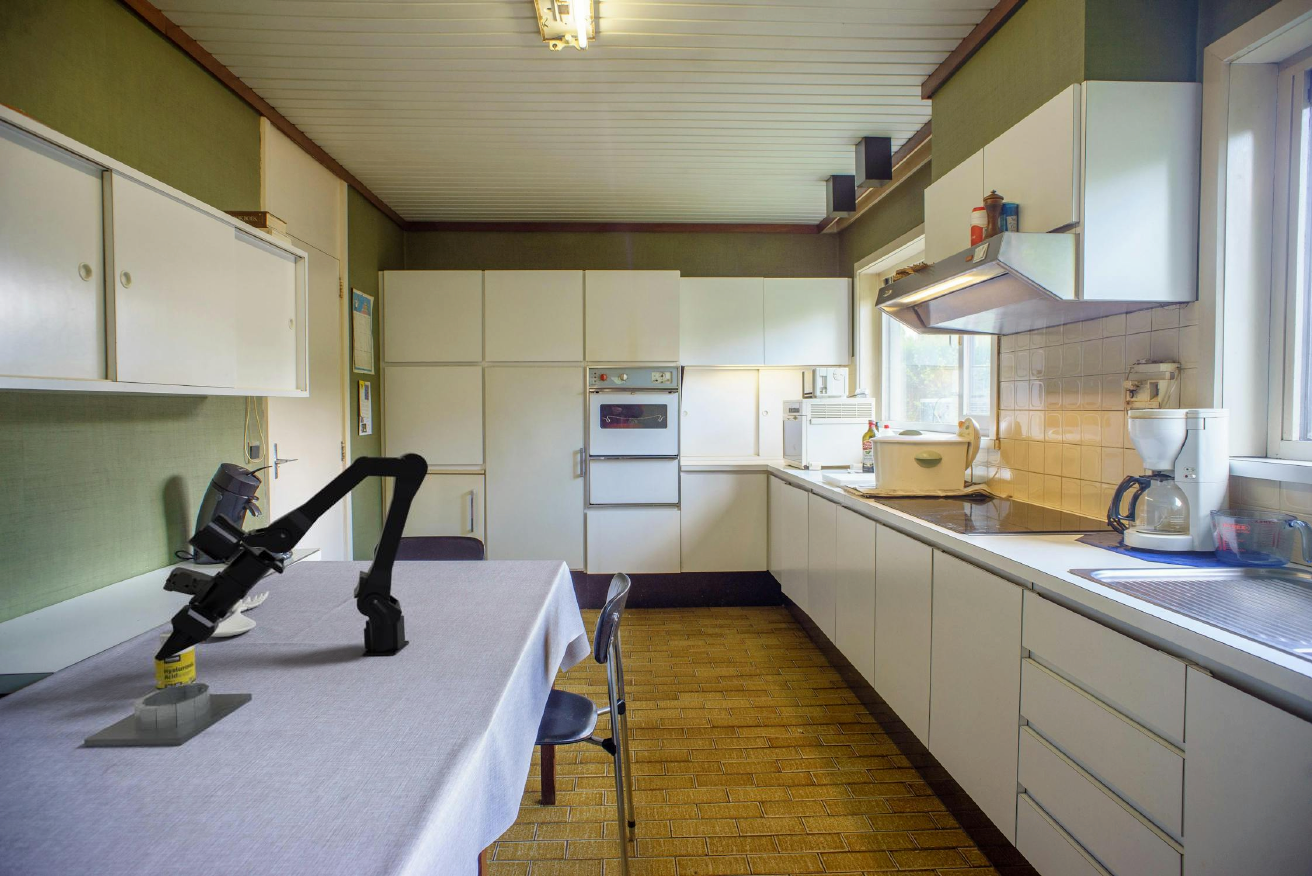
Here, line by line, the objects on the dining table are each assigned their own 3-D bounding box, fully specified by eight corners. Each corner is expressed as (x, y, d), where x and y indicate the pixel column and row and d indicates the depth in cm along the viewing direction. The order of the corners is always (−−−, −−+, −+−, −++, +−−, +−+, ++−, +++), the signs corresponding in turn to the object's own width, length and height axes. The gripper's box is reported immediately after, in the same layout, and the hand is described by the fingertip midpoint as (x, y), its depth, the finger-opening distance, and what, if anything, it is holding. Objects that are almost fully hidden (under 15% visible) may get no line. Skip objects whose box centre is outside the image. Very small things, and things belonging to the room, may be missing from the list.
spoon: (270, 602, 157) (269, 588, 157) (252, 639, 129) (251, 623, 129) (228, 607, 153) (227, 594, 153) (200, 647, 125) (199, 630, 125)
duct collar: (251, 699, 98) (250, 675, 98) (180, 745, 84) (179, 717, 84) (168, 700, 99) (167, 676, 99) (84, 746, 85) (83, 718, 85)
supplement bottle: (161, 697, 100) (158, 639, 100) (152, 690, 103) (149, 633, 103) (200, 686, 104) (197, 629, 104) (190, 678, 108) (187, 624, 107)
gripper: (209, 541, 113) (137, 609, 109) (184, 560, 97) (98, 641, 92) (260, 577, 117) (193, 644, 112) (245, 600, 101) (166, 681, 96)
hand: (164, 651), depth 103 cm, fingers open, 8 cm apart
